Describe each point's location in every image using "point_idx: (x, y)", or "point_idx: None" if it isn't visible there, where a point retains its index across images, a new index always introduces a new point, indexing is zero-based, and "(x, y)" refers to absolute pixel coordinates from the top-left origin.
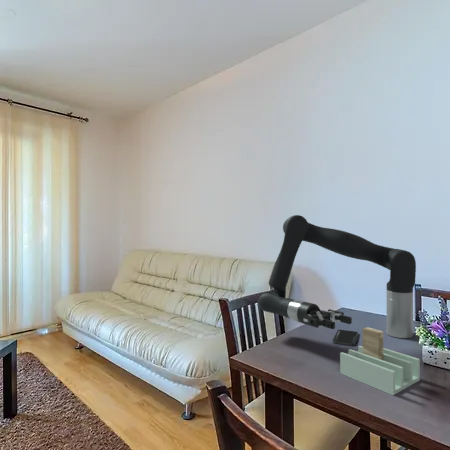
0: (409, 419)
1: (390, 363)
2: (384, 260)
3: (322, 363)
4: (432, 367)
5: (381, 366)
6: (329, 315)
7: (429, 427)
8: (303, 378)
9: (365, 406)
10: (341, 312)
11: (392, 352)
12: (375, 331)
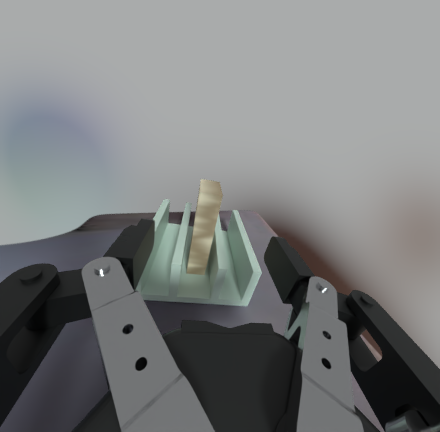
0: (253, 222)
1: None
2: None
3: None
4: (91, 223)
5: (236, 219)
6: (188, 323)
7: (248, 214)
8: None
9: None
10: (38, 274)
11: (160, 220)
12: (214, 184)
